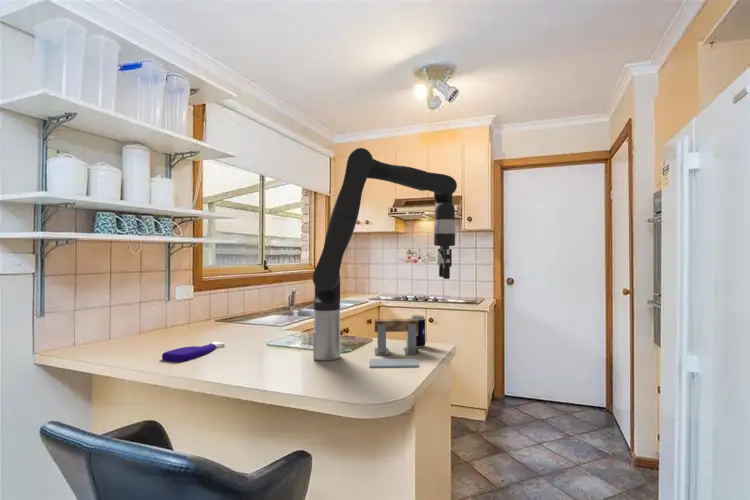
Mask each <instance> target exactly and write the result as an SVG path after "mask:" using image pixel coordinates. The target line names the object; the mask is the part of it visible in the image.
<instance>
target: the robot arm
mask: <svg viewBox="0 0 750 500" xmlns="http://www.w3.org/2000/svg"><path fill="white" fill-rule="evenodd" d="M346 159H347V160H346V165H345V166H346V167H345V172H344V177H343V181H342V185H341V187H340V190H339V192H338V195H337V198H336V200H335V203H334V204H333V208H332V211H331V215H330V218H329V220H328V221H329V222H328V225H327V229H326V234H325V239H324V244H323V248H322V251H321V254H320V257H319V259H318V262H317V264H316V267H315V268H314V271H313V273H312V283H313V284H314V300H313V332H312V340H313V341H312V342H313V343H312V345H313V346H312V351H313V352H312V353H313V360H316V361H317V360H318V361H334V360H338V359H340V358H341V274H340V273H341V265H342V260H343V257H344V254H345V253H346V249H347V248H348V244H349V243H350V241H351V238H352V237H353V233H354V231H355V228H356V225H357V221H358V217H359V215H360V214H359V213H360V209H361V201H362V195H363V191H364V187H365V184H366V182H367V180H368V179H374V180H380V181H384V182H389V183H393V184H397V185H400V186H402V187H403V186H404V187H407V188H410V189H413V190H418V191H421V192H425V191H428V192H432V193H433V199H434V205H435V207H434V224H433V245H434V246H435V247H439V248H438V249H437V265H438V277H440V278H443V279H444V280H450V277H451V272H450V271H451V267H452V262H453V260H452V259H453V255H452V252H453V251H452V248H450V247H455V246H456V222H455V221H456V220H455V219H456V217H455V216H456V215H455V214H456V213H455V212H456V208H455V205H454V203H453V200H454V198H453V195H454V193H455V192H456V190H457V186H458V185H457V181H456V179H454V177H453V176H451V175H448V174H443V173H436V172H430V171H426V170H423V169H419V168H415V167H411V166H407V165H406V166H405V165H397V164H390V163H385V162H382V161H379V160H377V159H375V158H374V157H373V155H372V154H371V152H370V151H369V150H368V149H367V148H363V147H358V148H355V149H353V150H352V151H351V152H350V153H349V154H348V155H347V158H346Z"/></svg>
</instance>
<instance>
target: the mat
mask: <svg viewBox="0 0 750 500" xmlns="http://www.w3.org/2000/svg"><path fill="white" fill-rule="evenodd" d="M419 366H420V365H419V363H418V360H417V358H413V357H412V358H370V359H369V368H370V369H372V368H373V369H375V368H377V369H379V368H382V369H384V368H419Z"/></svg>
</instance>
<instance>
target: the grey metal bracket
mask: <svg viewBox="0 0 750 500" xmlns="http://www.w3.org/2000/svg"><path fill="white" fill-rule="evenodd" d="M376 334H377V335H376V336H377V341H376V342H377V345H376V346H377V347H375V348H374V355H375V356H390V352H389V348H388V347H387V332H386V324H378V332H376Z"/></svg>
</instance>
